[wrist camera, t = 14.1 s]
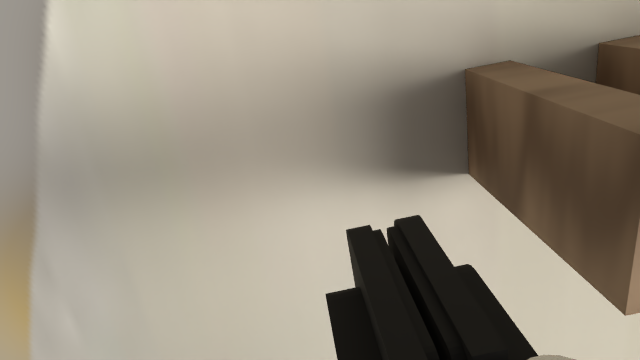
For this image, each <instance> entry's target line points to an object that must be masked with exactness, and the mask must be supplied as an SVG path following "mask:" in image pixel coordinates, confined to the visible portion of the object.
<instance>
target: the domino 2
mask: <svg viewBox="0 0 640 360" xmlns="http://www.w3.org/2000/svg"><path fill="white" fill-rule="evenodd" d="M596 84H600V85H604V86H608V87H612V88H615V89H619V90H623V91H627V92H630V93H634V94H638V95H640V35H639V36H633V37H628V38H623V39H618V40H613V41H608V42H603V43H599V52H598V63H597V75H596Z"/></svg>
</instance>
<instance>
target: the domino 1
mask: <svg viewBox="0 0 640 360" xmlns="http://www.w3.org/2000/svg"><path fill="white" fill-rule="evenodd" d="M465 79H466V108H467V136H468V165H469V175H470V176H472V177H473V178H474V179H475V180H476V181H477V182H478V183H479V184H480V185H481V186H483V187H484V188H485V189H486V190H487V191H488V192H489V193H490V194H491V195H493V196H494V197H495V198H496V199H497V200H498V201H499V202H500V203H501V204H502V205H504V206H505V207H506V208H507V209H508V210H509V211H510V212H511V213H512V214H514V215H515V216H516V217H517V218H518V219H519V220H520V221H521V222H522V223H523V224H525V225H526V226H527V227H528V228H529V229H530V230H531V231H532V232H533V233H535V234H536V235H537V236H538V237H539V238H540V239H541V240H542V241H543V242H544V243H546V244H547V245H548V246H549V247H550V248H551V249H552V250H553V251H554V252H556V253H557V254H558V255H559V256H560V257H561V258H562V259H563V260H564V261H565V262H567V263H568V264H569V265H570V266H571V267H572V268H573V269H574V270H575V271H577V272H578V273H579V274H580V275H581V276H582V277H583V278H584V279H585V280H586V281H588V282H589V283H590V284H591V285H592V286H593V287H594V288H595V289H596V290H598V291H599V292H600V293H601V294H602V295H603V296H604V297H605V298H606V299H607V300H609V301H610V302H611V303H612V304H613V305H614V306H615V307H616V308H617V309H619V310H620V311H621V312H622V313H623V314H624V315H625V316H626V315H631V314H635V313H640V95H638V94H634V93H630V92H627V91H623V90H619V89H615V88H612V87H608V86H604V85H600V84H596V83H593V82H589V81H585V80H581V79H578V78H574V77H570V76H566V75H563V74H559V73H555V72H551V71H548V70H544V69H540V68H536V67H532V66H529V65H525V64H521V63H517V62H514V61H505V62H500V63H495V64H490V65H485V66H480V67H474V68H469V69H465Z"/></svg>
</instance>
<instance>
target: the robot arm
mask: <svg viewBox="0 0 640 360" xmlns="http://www.w3.org/2000/svg"><path fill="white" fill-rule="evenodd" d="M346 233H347V240H348V246H349V252H350V257H351V263H352V269H353V275H354V281H355V287H356V288H352V289H347V290H342V291H337V292H333V293H328V294H326V299H327V305H328V310H329V316H330V321H331V326H332V332H333V337H334V343H335V348H336V354H337V359H338V360H575V359H571V358H567V357H564V356H559V355H541V356H538V355H537V353H536V352H535V351H534V349H533V348H532V347H531V345H530V344H529V342H528V341H527V340H526V338H525V337H524V336H523V334H522V333H521V332H520V330H519V329H518V328H517V326H516V325H515V323H514V322H513V321H512V319H511V318H510V317H509V315H508V314H507V313H506V311H505V310H504V308H503V307H502V306H501V304H500V303H499V302H498V300H497V299H496V298H495V296H494V295H493V293H492V292H491V291H490V289H489V288H488V287H487V285H486V284H485V283H484V281H483V280H482V278H481V277H480V276H479V274H478V273H477V272H476V270H475V269H474V268H473V267H472V266H471V265H469V264H466V265H461V266H456V267H454V266H453V265H452V263H451V262H450V260H449V259H448V257H447V256H446V254H445V253H444V251H443V250H442V248H441V247H440V245H439V244H438V242H437V241H436V239H435V238H434V236H433V235H432V233H431V232H430V230H429V229H428V227H427V226H426V224H425V223H424V221H423V220H422V218H421V217H420V216H419V215H416V216H411V217H406V218H401V219H396V220H395V221H394V227H389V228H387V238H388V244H387V242H386V240H385V238H384V236H383V233H382V231H381V230H380V229H379V230H374V231H372V228H371V226H370V225H367V226H362V227H357V228H353V229H348V230H346Z"/></svg>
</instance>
